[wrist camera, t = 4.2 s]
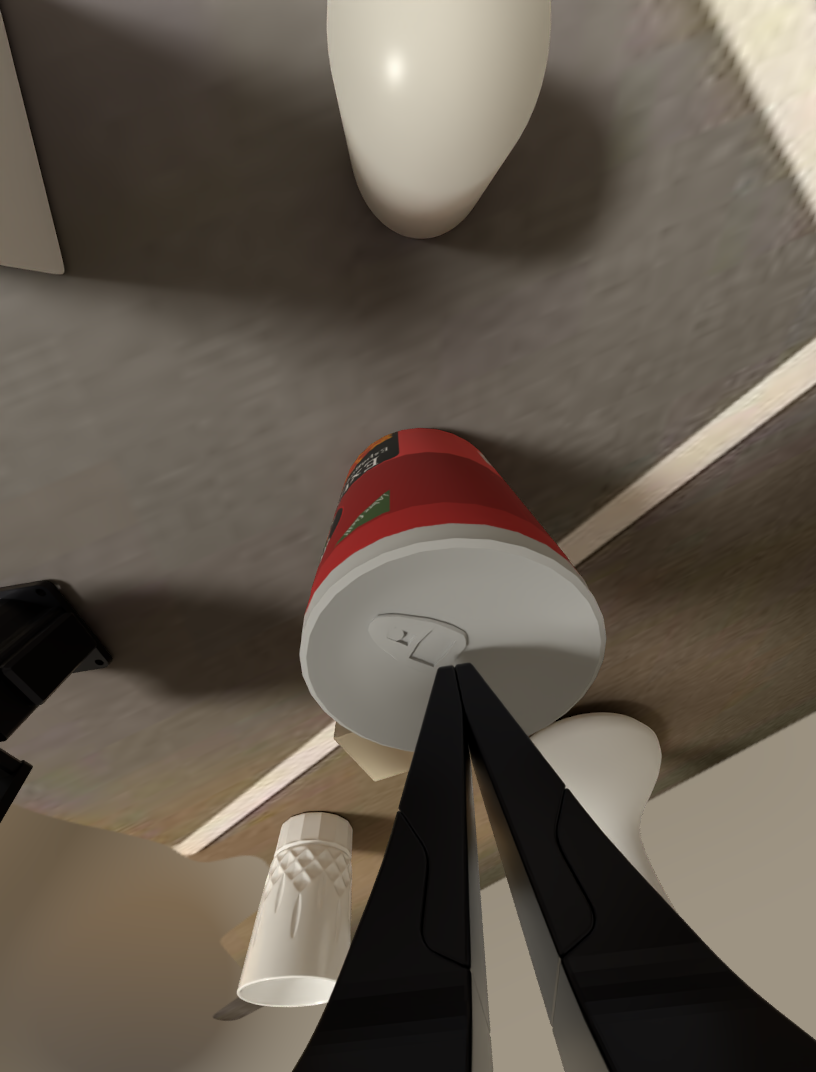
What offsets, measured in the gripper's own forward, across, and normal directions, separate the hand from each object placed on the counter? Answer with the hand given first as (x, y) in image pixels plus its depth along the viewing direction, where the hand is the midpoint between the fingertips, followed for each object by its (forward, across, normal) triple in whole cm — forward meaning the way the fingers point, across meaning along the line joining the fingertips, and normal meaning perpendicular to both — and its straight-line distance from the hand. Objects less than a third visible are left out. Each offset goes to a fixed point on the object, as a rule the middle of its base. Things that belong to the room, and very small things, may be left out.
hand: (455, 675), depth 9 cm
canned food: (+11, 0, 0) cm, 11 cm away
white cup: (+11, +15, +32) cm, 37 cm away
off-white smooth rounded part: (+11, -2, -13) cm, 17 cm away
